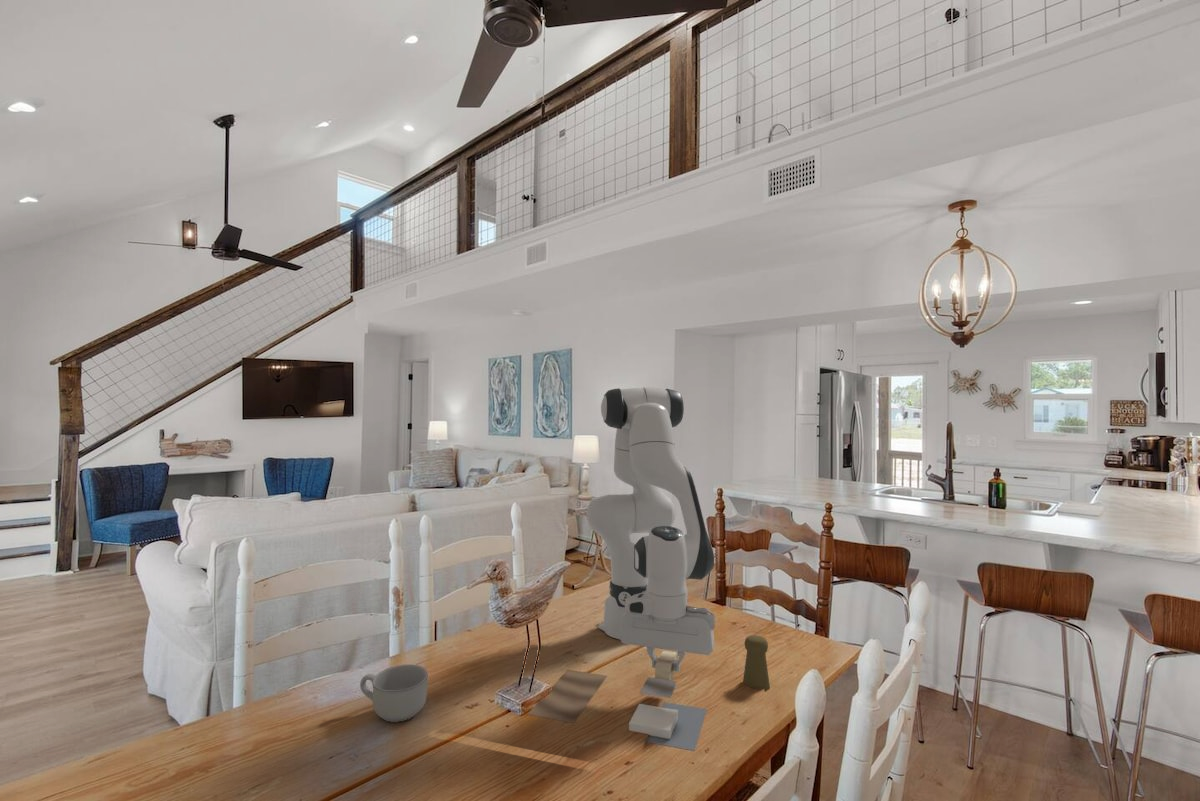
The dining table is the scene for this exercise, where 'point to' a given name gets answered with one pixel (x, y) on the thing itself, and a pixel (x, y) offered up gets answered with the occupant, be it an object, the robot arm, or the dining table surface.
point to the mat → (683, 727)
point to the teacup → (397, 691)
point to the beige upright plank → (661, 677)
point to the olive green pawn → (756, 663)
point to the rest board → (568, 696)
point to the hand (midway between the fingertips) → (666, 668)
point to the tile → (654, 721)
